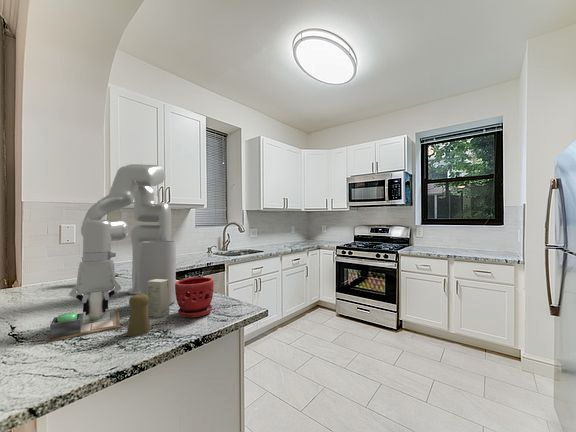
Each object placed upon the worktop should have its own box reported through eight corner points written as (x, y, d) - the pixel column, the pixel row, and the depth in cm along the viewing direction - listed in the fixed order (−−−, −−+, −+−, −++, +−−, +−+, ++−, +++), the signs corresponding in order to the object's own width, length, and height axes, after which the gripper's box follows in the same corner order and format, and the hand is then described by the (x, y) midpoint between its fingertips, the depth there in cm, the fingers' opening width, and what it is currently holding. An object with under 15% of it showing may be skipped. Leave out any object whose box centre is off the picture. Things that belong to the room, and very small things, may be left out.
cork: (133, 328, 80) (133, 292, 80) (153, 327, 81) (154, 291, 81) (122, 336, 74) (123, 298, 74) (144, 336, 75) (145, 297, 75)
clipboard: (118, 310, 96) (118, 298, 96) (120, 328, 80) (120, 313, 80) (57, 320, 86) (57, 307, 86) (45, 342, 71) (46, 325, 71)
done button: (77, 319, 79) (77, 311, 79) (76, 324, 76) (76, 315, 76) (58, 322, 77) (58, 314, 77) (56, 327, 73) (56, 318, 73)
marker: (103, 315, 89) (104, 285, 89) (103, 319, 85) (103, 288, 85) (88, 317, 87) (88, 287, 86) (87, 322, 83) (88, 290, 83)
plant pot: (212, 306, 102) (212, 275, 102) (214, 317, 89) (214, 282, 89) (176, 309, 97) (176, 277, 98) (172, 322, 85) (173, 285, 85)
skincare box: (169, 313, 93) (170, 279, 93) (160, 317, 89) (160, 282, 89) (156, 311, 95) (156, 278, 96) (146, 315, 91) (146, 280, 91)
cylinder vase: (132, 306, 101) (134, 242, 101) (157, 298, 113) (158, 240, 113) (158, 310, 97) (159, 243, 98) (181, 300, 109) (182, 240, 110)
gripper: (126, 254, 94) (125, 305, 94) (65, 257, 85) (64, 314, 84) (127, 256, 88) (126, 311, 87) (62, 260, 79) (60, 321, 78)
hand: (95, 312), depth 86 cm, fingers closed on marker, 4 cm apart
